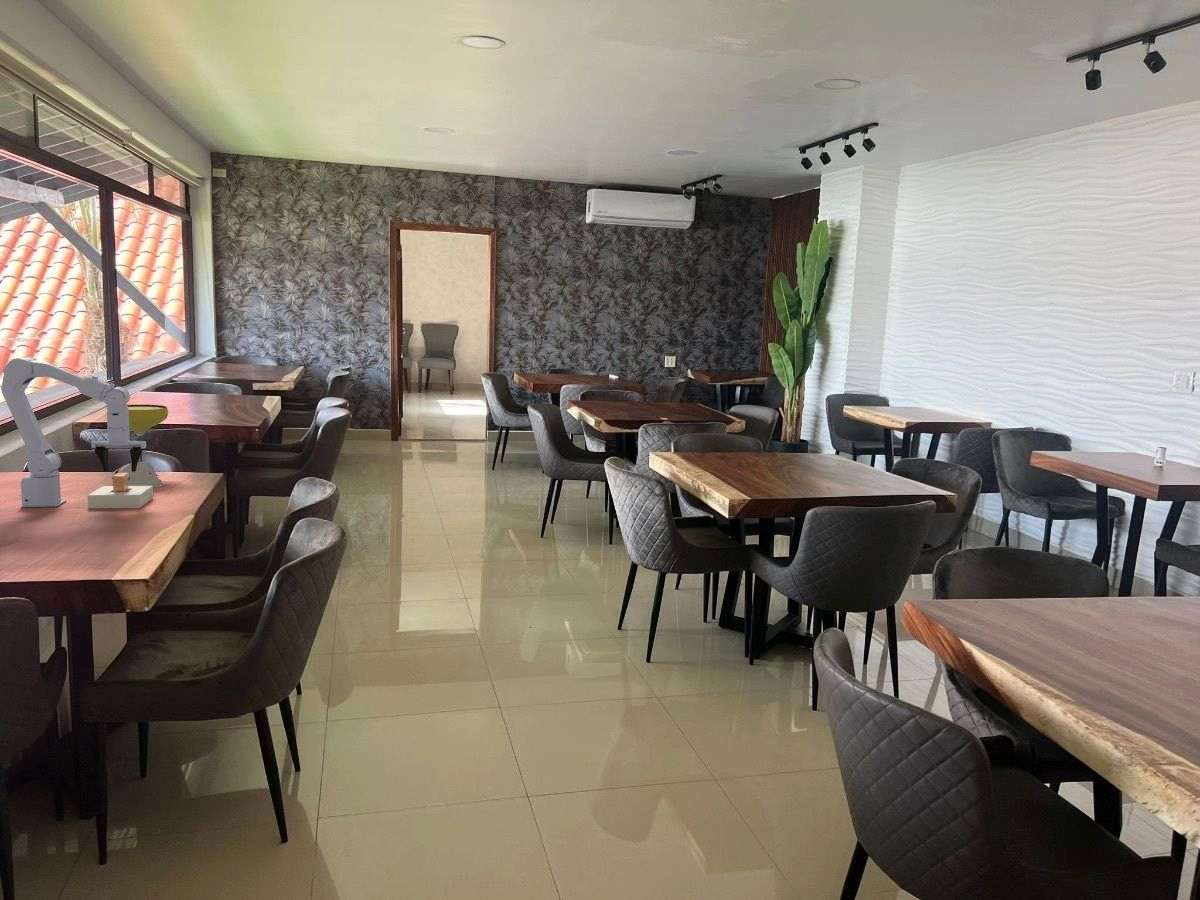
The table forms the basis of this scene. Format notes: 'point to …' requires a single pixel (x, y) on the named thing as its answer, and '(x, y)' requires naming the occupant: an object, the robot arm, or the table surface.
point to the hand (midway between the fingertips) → (120, 471)
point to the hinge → (140, 475)
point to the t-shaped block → (120, 482)
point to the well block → (120, 497)
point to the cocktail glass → (145, 418)
